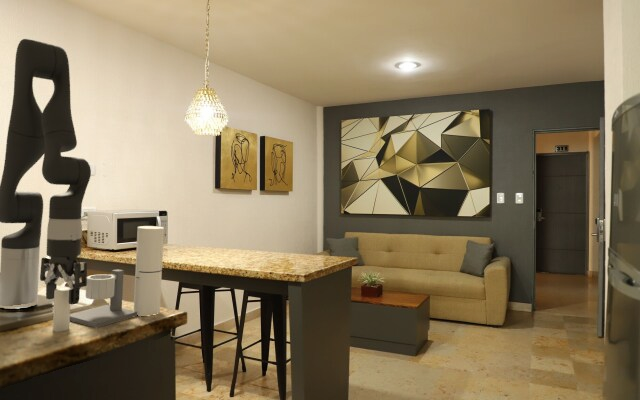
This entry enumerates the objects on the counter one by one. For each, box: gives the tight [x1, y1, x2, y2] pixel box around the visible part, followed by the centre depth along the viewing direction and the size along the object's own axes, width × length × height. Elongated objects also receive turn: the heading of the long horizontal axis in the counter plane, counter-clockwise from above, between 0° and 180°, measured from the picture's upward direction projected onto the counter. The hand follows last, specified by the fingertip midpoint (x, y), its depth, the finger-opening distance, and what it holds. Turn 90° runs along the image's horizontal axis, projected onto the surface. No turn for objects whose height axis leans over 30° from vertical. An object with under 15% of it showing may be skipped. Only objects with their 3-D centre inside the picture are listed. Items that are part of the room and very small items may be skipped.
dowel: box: [52, 287, 71, 333], centre depth 113 cm, size 4×4×10 cm
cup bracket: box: [70, 268, 138, 329], centre depth 124 cm, size 12×13×12 cm
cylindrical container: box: [133, 225, 165, 317], centre depth 130 cm, size 7×7×25 cm
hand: (62, 301), depth 112 cm, fingers open, 8 cm apart
